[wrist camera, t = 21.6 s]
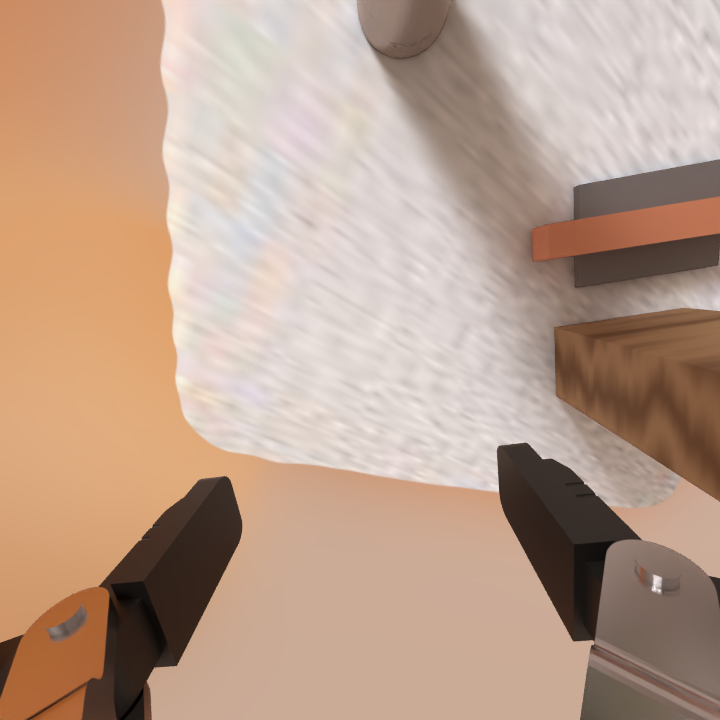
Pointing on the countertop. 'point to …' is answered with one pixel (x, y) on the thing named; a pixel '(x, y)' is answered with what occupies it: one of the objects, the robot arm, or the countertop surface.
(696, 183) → the mat
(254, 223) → the countertop surface
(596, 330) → the post
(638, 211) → the rail
